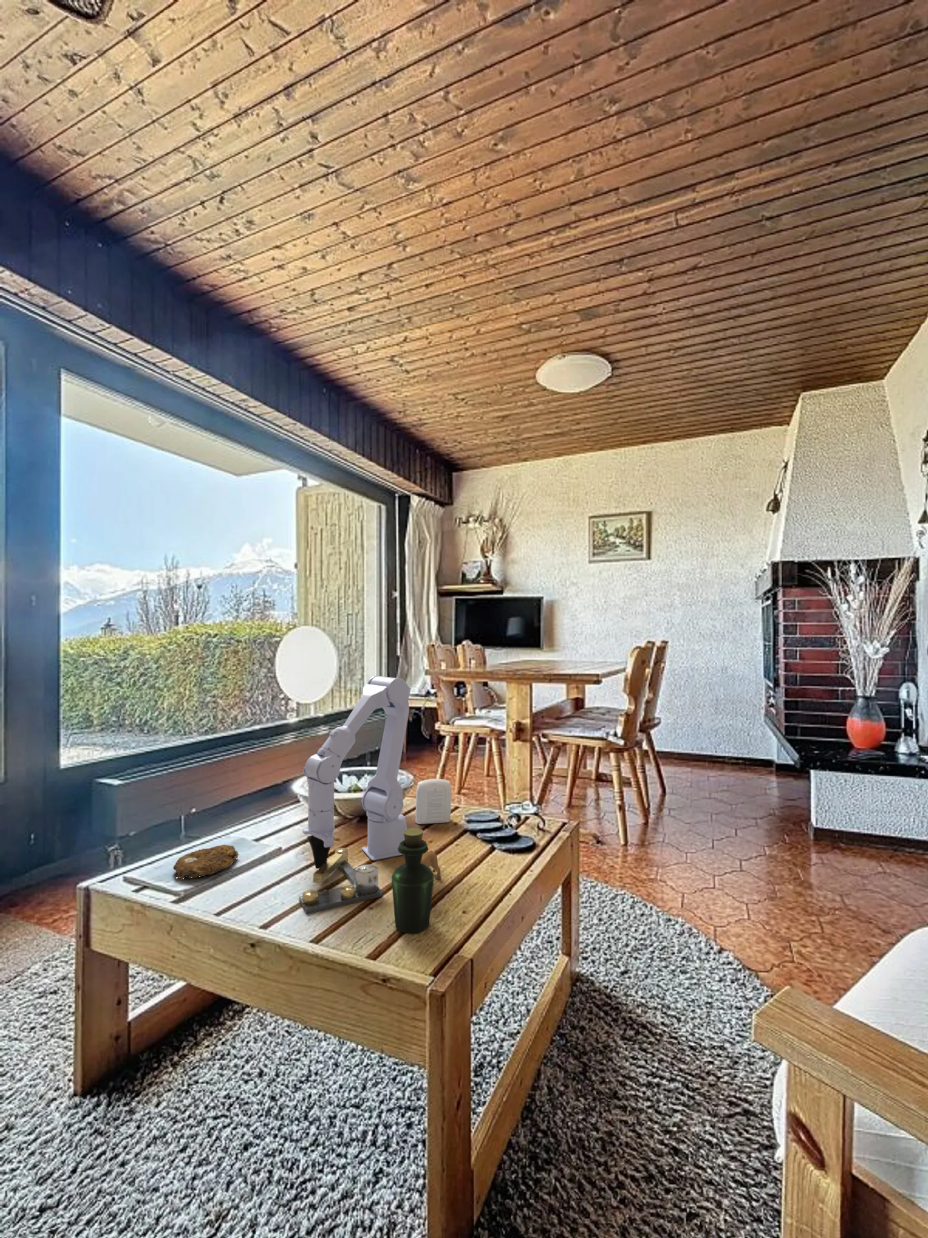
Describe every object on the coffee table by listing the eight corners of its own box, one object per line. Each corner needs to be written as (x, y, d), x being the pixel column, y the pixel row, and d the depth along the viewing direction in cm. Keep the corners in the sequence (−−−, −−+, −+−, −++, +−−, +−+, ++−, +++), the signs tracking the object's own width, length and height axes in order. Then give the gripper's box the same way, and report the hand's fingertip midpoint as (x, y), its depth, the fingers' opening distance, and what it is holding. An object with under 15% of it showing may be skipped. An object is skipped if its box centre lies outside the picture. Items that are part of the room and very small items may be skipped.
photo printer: (448, 818, 171) (449, 776, 171) (452, 823, 166) (452, 780, 166) (414, 820, 168) (414, 778, 168) (416, 826, 164) (417, 782, 164)
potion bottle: (389, 937, 107) (390, 840, 107) (392, 914, 115) (393, 824, 115) (433, 936, 107) (434, 839, 107) (433, 914, 115) (434, 824, 115)
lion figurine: (422, 905, 119) (422, 861, 119) (398, 901, 120) (398, 858, 120) (444, 874, 133) (444, 835, 133) (422, 871, 134) (423, 833, 134)
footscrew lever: (338, 860, 140) (338, 847, 140) (349, 861, 139) (349, 848, 139) (310, 887, 125) (311, 873, 125) (323, 889, 125) (324, 874, 125)
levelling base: (355, 864, 138) (355, 840, 138) (382, 896, 122) (382, 869, 122) (287, 878, 130) (287, 853, 130) (306, 914, 114) (306, 885, 114)
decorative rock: (215, 854, 145) (163, 881, 131) (214, 837, 144) (162, 863, 131) (250, 859, 140) (200, 888, 126) (249, 842, 140) (199, 869, 126)
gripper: (296, 801, 136) (295, 859, 136) (311, 821, 123) (310, 884, 123) (326, 797, 140) (325, 853, 140) (343, 815, 127) (342, 877, 127)
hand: (320, 867), depth 132 cm, fingers closed, pressing on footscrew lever
